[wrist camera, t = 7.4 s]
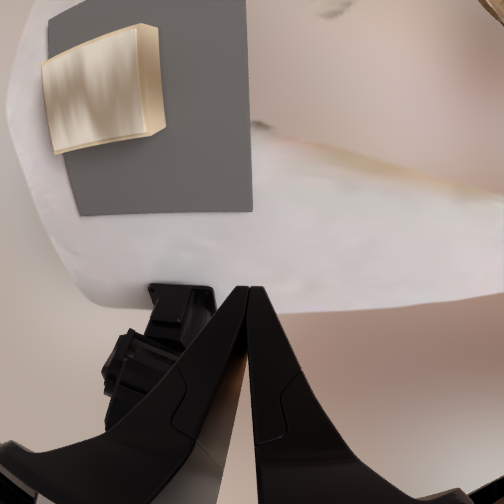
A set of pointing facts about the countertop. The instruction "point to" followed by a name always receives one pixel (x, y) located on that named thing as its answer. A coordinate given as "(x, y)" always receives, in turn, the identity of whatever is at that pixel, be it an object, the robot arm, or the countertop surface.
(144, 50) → the cream rectangular block
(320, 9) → the countertop surface
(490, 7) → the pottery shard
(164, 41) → the mat
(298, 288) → the countertop surface
